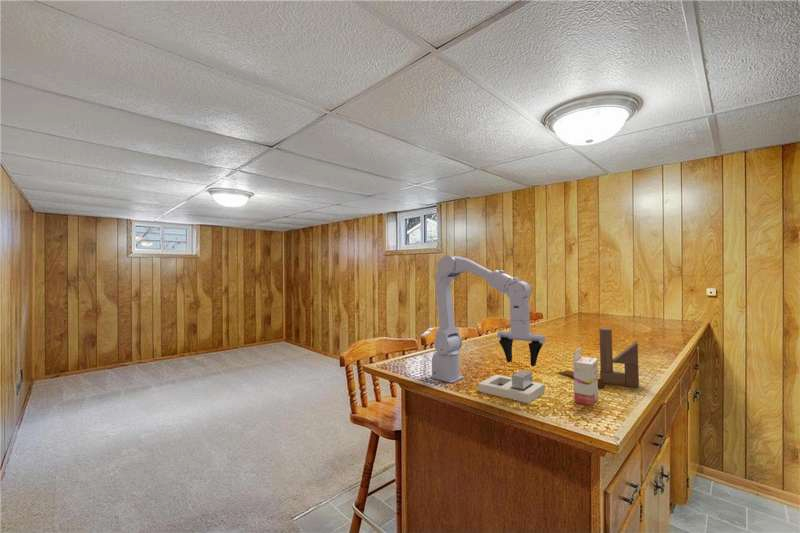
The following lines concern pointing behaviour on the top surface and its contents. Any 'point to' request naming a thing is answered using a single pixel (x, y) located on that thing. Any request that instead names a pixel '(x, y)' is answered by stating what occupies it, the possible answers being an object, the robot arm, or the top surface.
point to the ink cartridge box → (585, 379)
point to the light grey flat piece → (510, 389)
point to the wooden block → (626, 357)
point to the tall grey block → (522, 380)
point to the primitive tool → (571, 375)
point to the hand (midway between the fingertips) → (521, 363)
